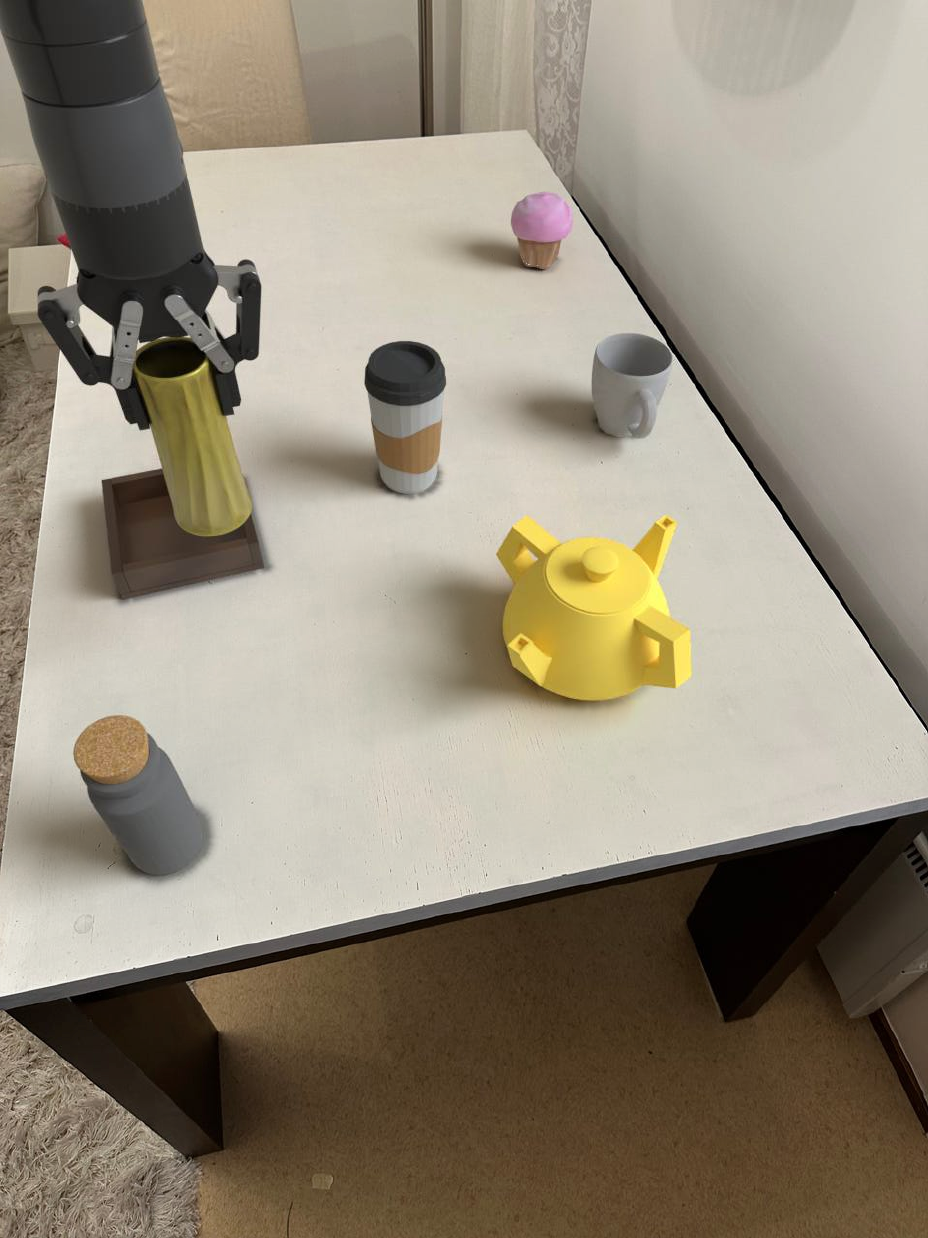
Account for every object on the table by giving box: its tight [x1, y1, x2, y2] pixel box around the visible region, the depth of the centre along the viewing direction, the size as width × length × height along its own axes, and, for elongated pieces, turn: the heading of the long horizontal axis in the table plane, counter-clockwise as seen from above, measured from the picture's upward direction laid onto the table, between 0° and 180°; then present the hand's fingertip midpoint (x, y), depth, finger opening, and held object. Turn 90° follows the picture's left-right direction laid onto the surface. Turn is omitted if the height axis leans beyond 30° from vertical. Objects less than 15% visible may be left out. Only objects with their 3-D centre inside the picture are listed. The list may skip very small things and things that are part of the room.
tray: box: [101, 467, 265, 600], centre depth 87 cm, size 14×14×4 cm
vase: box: [132, 336, 253, 536], centre depth 63 cm, size 6×6×14 cm
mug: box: [591, 332, 674, 439], centre depth 98 cm, size 12×9×10 cm
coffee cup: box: [363, 340, 447, 495], centre depth 90 cm, size 8×8×15 cm
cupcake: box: [510, 191, 574, 270], centre depth 122 cm, size 9×9×10 cm
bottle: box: [73, 714, 205, 877], centre depth 61 cm, size 6×6×15 cm
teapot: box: [495, 514, 693, 702], centre depth 76 cm, size 17×17×12 cm
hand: (186, 415), depth 61 cm, fingers closed on vase, 5 cm apart
